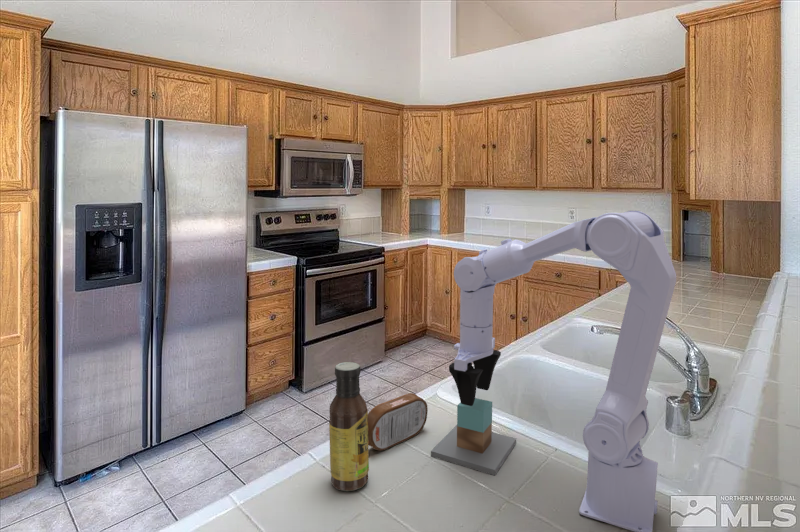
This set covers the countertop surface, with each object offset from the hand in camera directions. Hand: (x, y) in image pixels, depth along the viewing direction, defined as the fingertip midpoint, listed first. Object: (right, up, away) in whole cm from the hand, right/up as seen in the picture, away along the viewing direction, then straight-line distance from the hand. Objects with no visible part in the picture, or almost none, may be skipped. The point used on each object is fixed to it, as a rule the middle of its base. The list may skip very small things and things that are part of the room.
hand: (475, 396), depth 86 cm
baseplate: (0, -10, +2) cm, 10 cm away
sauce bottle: (-22, -12, -8) cm, 26 cm away
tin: (-14, -10, +5) cm, 18 cm away
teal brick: (0, -5, +1) cm, 5 cm away
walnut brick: (0, -9, +1) cm, 9 cm away
